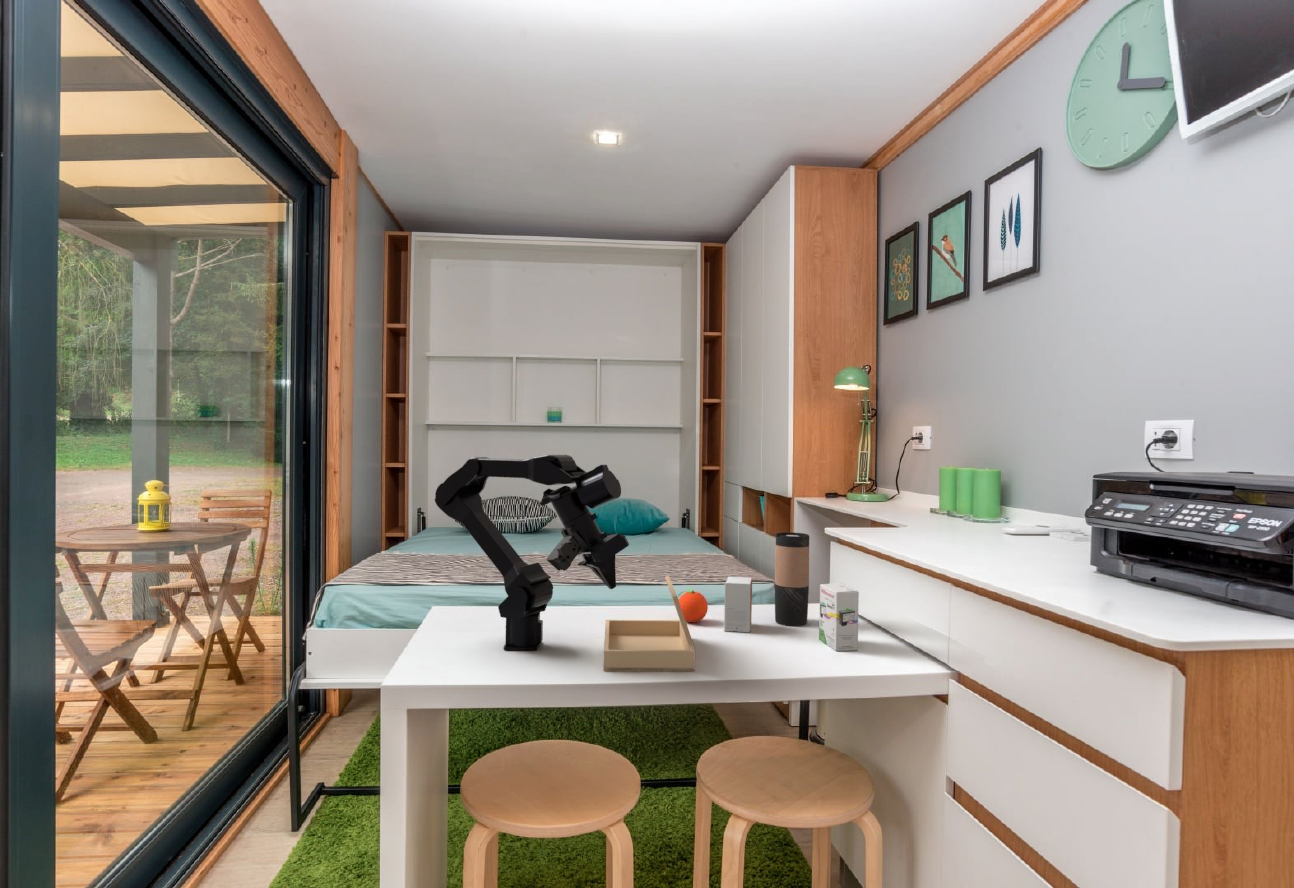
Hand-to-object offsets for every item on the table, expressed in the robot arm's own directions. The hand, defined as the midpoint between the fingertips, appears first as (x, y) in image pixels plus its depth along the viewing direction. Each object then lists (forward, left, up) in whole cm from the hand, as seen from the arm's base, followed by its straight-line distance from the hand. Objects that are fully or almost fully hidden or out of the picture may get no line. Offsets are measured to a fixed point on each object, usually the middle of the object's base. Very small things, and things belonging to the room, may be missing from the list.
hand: (613, 588), depth 134 cm
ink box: (+46, +5, -12) cm, 48 cm away
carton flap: (+14, -1, -8) cm, 16 cm away
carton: (+7, -1, -12) cm, 14 cm away
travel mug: (+41, +23, -12) cm, 48 cm away
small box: (+28, +18, -12) cm, 35 cm away
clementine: (+18, +23, -12) cm, 32 cm away
